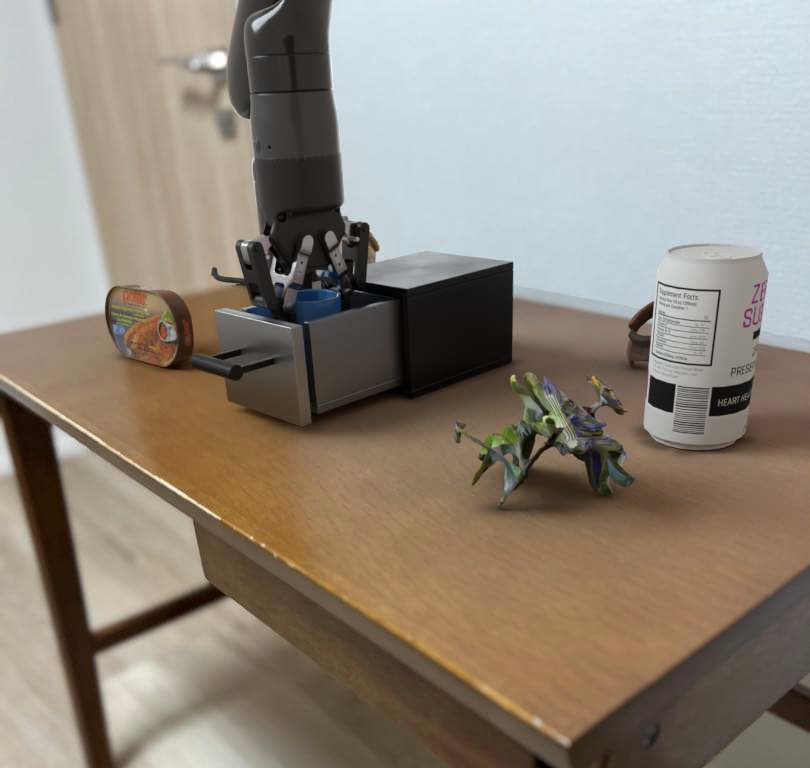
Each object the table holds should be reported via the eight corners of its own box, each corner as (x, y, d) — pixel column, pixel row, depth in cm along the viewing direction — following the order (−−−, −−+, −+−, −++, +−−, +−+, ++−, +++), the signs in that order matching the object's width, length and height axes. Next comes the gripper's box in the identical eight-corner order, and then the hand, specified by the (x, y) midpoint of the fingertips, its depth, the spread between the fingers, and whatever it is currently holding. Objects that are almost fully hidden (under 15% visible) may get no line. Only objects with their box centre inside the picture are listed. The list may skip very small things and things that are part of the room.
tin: (110, 352, 106) (95, 282, 103) (132, 347, 108) (119, 277, 105) (181, 373, 97) (168, 296, 93) (204, 367, 99) (192, 291, 95)
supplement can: (633, 419, 78) (648, 244, 71) (728, 417, 77) (751, 240, 71) (653, 454, 71) (672, 263, 64) (757, 451, 70) (787, 258, 63)
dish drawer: (257, 442, 75) (243, 340, 71) (184, 414, 82) (168, 320, 78) (416, 386, 86) (412, 295, 82) (340, 366, 94) (333, 282, 90)
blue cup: (276, 365, 84) (269, 297, 81) (320, 352, 88) (314, 286, 85) (313, 375, 81) (306, 304, 78) (357, 362, 84) (352, 293, 81)
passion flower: (591, 557, 67) (681, 466, 58) (466, 565, 63) (541, 469, 53) (544, 438, 72) (620, 337, 63) (425, 438, 68) (488, 330, 58)
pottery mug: (742, 382, 87) (716, 316, 83) (650, 419, 91) (621, 359, 86) (717, 322, 96) (693, 260, 91) (634, 358, 100) (607, 300, 95)
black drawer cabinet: (412, 399, 86) (407, 289, 81) (328, 376, 94) (319, 274, 89) (512, 362, 95) (513, 261, 90) (428, 343, 103) (425, 250, 98)
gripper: (255, 159, 69) (279, 369, 77) (387, 144, 77) (396, 334, 85) (202, 157, 74) (229, 354, 81) (332, 143, 82) (345, 322, 90)
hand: (315, 343), depth 83 cm, fingers closed on blue cup, 5 cm apart
